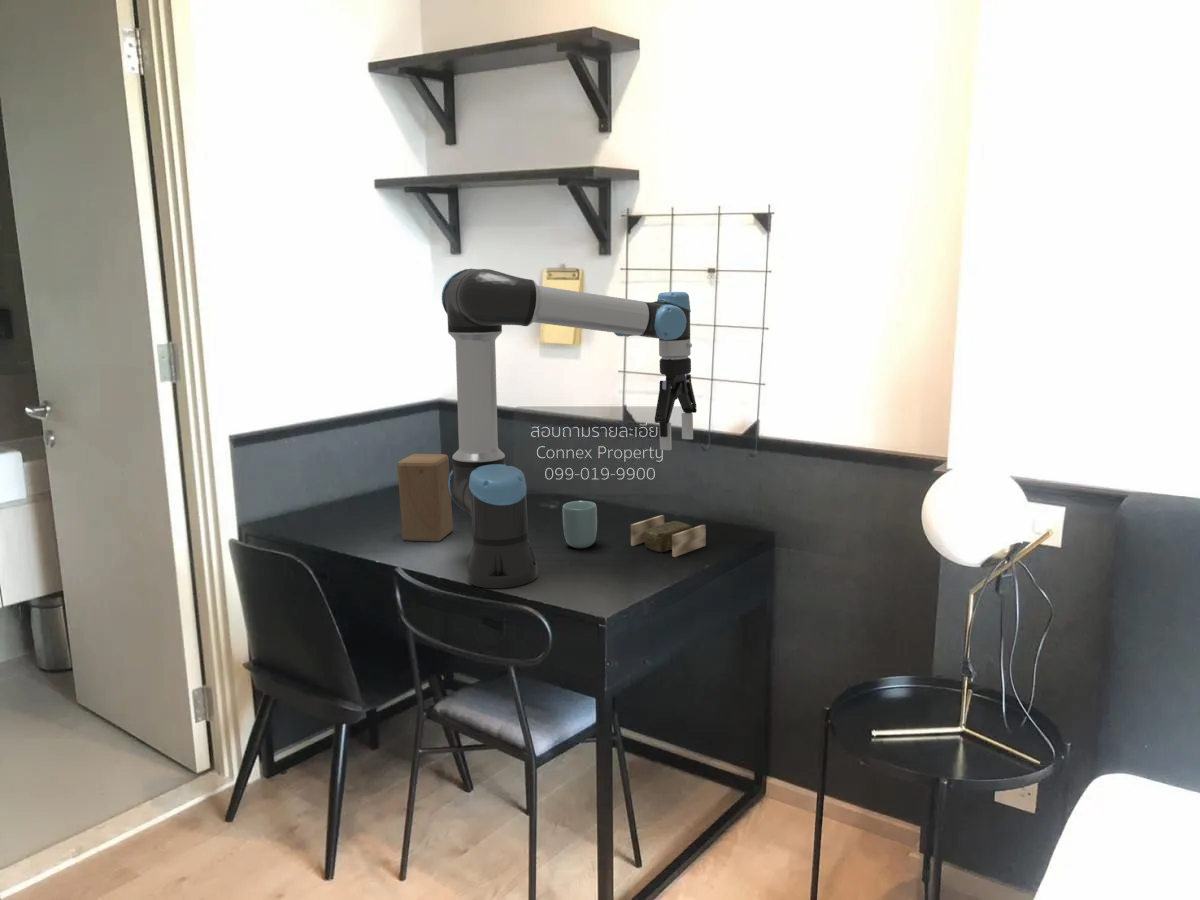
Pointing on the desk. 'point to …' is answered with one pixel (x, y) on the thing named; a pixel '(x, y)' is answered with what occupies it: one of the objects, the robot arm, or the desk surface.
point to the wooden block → (425, 497)
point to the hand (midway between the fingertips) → (676, 444)
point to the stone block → (663, 535)
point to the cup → (580, 523)
